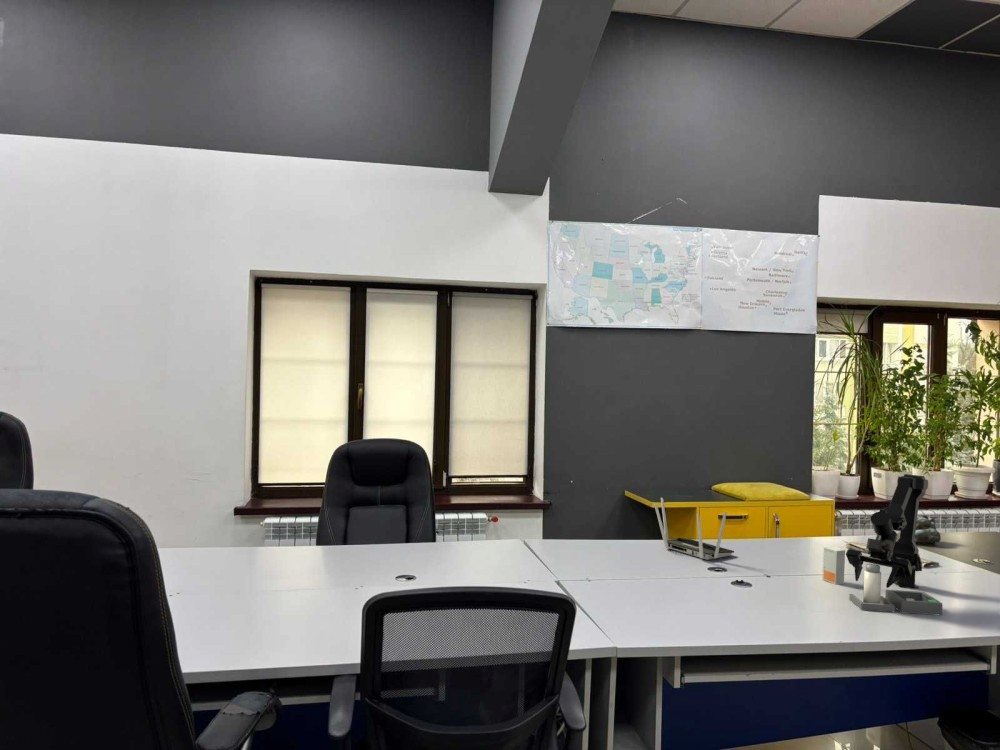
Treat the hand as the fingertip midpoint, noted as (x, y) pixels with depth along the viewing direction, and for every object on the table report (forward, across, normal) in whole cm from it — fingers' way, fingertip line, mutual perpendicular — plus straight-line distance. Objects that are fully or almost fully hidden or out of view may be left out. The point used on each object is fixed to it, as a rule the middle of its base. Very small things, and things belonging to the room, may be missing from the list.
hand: (871, 583), depth 231 cm
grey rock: (-77, -17, +87) cm, 118 cm away
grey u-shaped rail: (+4, 0, +6) cm, 7 cm away
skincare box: (-8, -19, +19) cm, 28 cm away
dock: (-2, +10, +12) cm, 15 cm away
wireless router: (-5, -72, +16) cm, 74 cm away
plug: (+4, 0, +6) cm, 7 cm away
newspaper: (-49, -18, +60) cm, 79 cm away
